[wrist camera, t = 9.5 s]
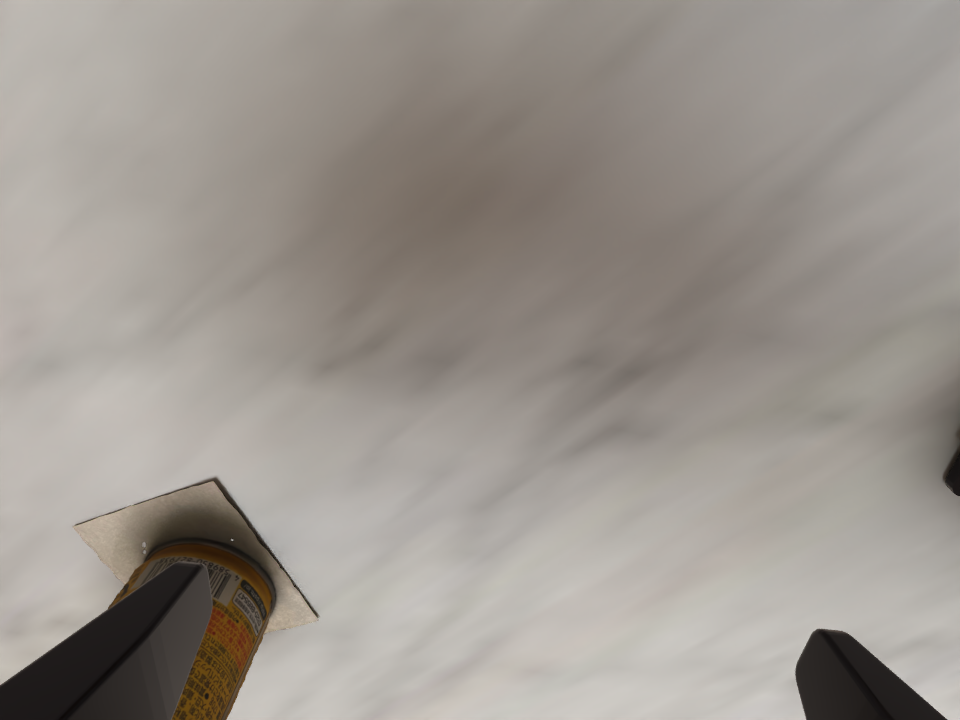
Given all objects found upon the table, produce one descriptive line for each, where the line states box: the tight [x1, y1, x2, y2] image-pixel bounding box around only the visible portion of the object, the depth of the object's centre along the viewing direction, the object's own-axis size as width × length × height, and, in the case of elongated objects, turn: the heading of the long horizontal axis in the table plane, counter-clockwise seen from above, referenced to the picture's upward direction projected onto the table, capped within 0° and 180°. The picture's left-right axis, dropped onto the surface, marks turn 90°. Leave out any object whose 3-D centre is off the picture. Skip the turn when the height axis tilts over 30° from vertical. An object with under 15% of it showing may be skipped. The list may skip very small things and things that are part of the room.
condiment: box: [73, 481, 318, 720], centre depth 21 cm, size 7×8×12 cm
